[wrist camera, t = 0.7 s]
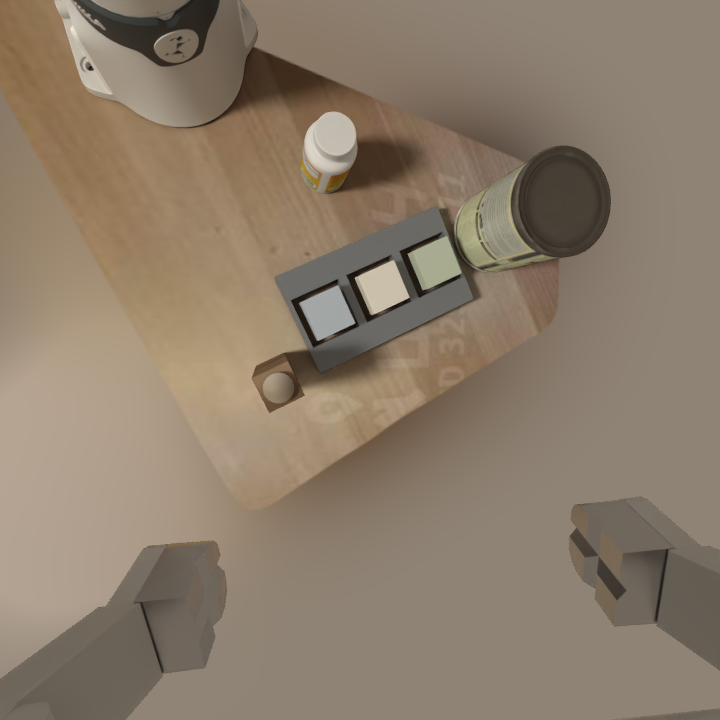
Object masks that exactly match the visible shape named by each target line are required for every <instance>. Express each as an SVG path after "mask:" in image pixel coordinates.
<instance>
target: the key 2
mask: <svg viewBox="0 0 720 720" xmlns="http://www.w3.org/2000/svg"><path fill="white" fill-rule="evenodd" d="M408 256H409V259H410V261H411V263H412V266H413V268H414V271H415V273H416V275H417V278H418V280H419V283H420V285H421V288H422V290H426V289H429V288H431V287H433V286H435V285H437V284H440V283H442V282H444V281H446V280H448V279H450V278H452V277H454V276H456V275H459V274H461V273H462V272H461V270H460V267H459V265H458V262H457V260H456V257H455V255H454V252H453V249H452V247H451V244H450V242H449V239H448V237H447V236H445V237H443V238H441V239H439V240H437V241H434V242H432V243H430V244H428V245H426V246H423V247H421V248H419V249H417V250H415V251H412V252H410V253H408Z"/></svg>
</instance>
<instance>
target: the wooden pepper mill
mask: <svg viewBox="0 0 720 720" xmlns="http://www.w3.org/2000/svg"><path fill="white" fill-rule="evenodd" d="M252 380H253V382H254V384H255V386H256V388H257V390H258V392H259V394H260V396H261V398H262V400H263V401H264V403H265V405H266V407H267V409H268V411H269V413H270V412H272V411H274V410H276V409H278V408H280V407H283V406H285V405H287V404H289V403H291V402H293V401H295V400H297V399H299V398H301V397H303V396H305V395H304V393H303V391H302V389H301V386H300V384H299V382H298V380H297V378H296V376H295V373H294V371H293V369H292V367H291V365H290V363H289V361H288V359H287V357H286V355H285V353H283V354H280V355H278V356H276V357H274V358H272V359H270V360H268V361H266V362H264V363H261V364H259V365H257V366H256V368H255V371H254V373H253V376H252Z"/></svg>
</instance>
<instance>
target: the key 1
mask: <svg viewBox="0 0 720 720" xmlns="http://www.w3.org/2000/svg"><path fill="white" fill-rule="evenodd" d="M299 304H300V306H301V308H302V310H303V313H304V315H305V317H306V319H307V321H308V323H309V325H310V327H311V329H312V332H313V334H314V336H315V338H316V340H317V341H319V340H321V339H323V338H325V337H328V336H330V335H332V334H334V333H336V332H338V331H340V330H342V329H344V328H347V327H349V326H351V325H353V324H355V321H354V319H353V317H352V315H351V313H350V310H349V308H348V306H347V304H346V302H345V299H344V297H343V295H342V293H341V290H340V288H339V286H335V287H333V288H331V289H329V290H327V291H324V292H322V293H320V294H318V295H316V296H313V297H311V298H309V299H307V300H305V301H302V302H300V303H299Z"/></svg>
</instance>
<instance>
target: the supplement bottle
mask: <svg viewBox="0 0 720 720" xmlns="http://www.w3.org/2000/svg"><path fill="white" fill-rule="evenodd" d="M356 156H357V141H356V130H355V127H354V125H353V123H352V121H351V120H350V119H349V118H348V117H347V116H345V115H344V114H342V113H339V112H328V113H325V114H324V115H322V116H321V117H320V118H319V119H318V120H317V121H316V122H314V123H313V124H312V125H311V126H310V128H309V129H308V131H307V133H306V136H305V140H304V147H303V152H302V157H301V164H300V170H301V175H302V177H303V180H304V181H305V183H306V184H307V185H308V186H309V187H310V188H311V189H313V190H314V191H316V192H319V193H330V192H333V191H335V190H337V189H338V188H340V187H341V185H342V184H343V183H344V181H345V179H346V177H347V175H348V173H349V171H350V169H351V167H352V165H353V163H354V161H355V159H356Z"/></svg>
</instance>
